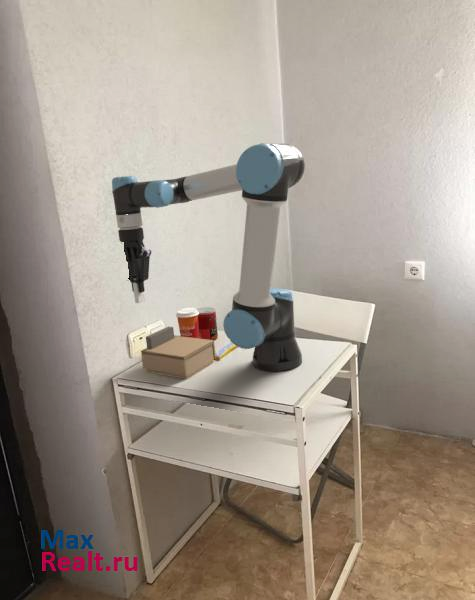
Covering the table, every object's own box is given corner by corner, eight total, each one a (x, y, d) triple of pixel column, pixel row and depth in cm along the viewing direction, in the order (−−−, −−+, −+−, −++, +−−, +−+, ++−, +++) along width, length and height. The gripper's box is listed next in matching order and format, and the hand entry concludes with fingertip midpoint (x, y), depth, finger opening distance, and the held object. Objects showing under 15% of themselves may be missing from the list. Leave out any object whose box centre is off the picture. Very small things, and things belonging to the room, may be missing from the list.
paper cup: (176, 352, 174) (171, 313, 171) (186, 345, 181) (182, 307, 178) (196, 354, 171) (192, 314, 168) (206, 346, 178) (202, 307, 175)
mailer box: (214, 362, 162) (212, 344, 161) (187, 379, 151) (185, 359, 149) (174, 356, 171) (172, 339, 169) (146, 371, 159) (143, 353, 158)
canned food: (215, 342, 182) (212, 312, 179) (193, 342, 183) (190, 313, 181) (220, 335, 189) (217, 306, 186) (199, 335, 191) (196, 307, 188)
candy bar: (219, 362, 163) (218, 357, 163) (208, 361, 165) (207, 355, 165) (243, 345, 178) (242, 340, 177) (232, 344, 180) (232, 339, 179)
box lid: (215, 357, 163) (212, 328, 160) (185, 375, 150) (181, 344, 147) (175, 351, 171) (172, 324, 169) (143, 368, 158) (139, 339, 156)
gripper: (106, 229, 158) (116, 303, 164) (137, 229, 151) (147, 306, 157) (123, 226, 164) (133, 297, 170) (154, 226, 157) (163, 300, 163)
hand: (140, 302), depth 163 cm, fingers closed
